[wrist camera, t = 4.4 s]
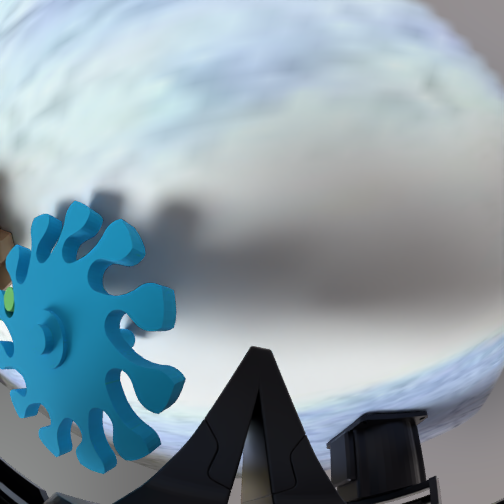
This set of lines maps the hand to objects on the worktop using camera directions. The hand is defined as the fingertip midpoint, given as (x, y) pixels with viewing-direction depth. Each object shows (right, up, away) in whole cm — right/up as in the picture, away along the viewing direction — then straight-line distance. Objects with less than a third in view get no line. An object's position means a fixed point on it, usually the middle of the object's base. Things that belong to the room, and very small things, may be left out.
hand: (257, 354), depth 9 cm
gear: (-7, +2, +2) cm, 8 cm away
